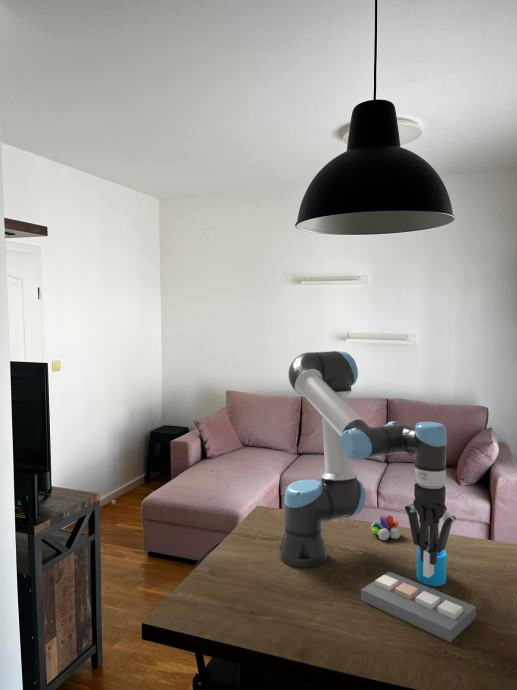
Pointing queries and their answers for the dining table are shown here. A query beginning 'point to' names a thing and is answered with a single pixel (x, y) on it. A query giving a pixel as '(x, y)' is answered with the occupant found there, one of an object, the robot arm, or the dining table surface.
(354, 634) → the dining table surface
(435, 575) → the mug
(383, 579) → the key
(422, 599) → the key
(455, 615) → the key
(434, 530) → the robot arm
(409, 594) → the key
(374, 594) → the keypad
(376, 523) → the multicoloured ball cluster
